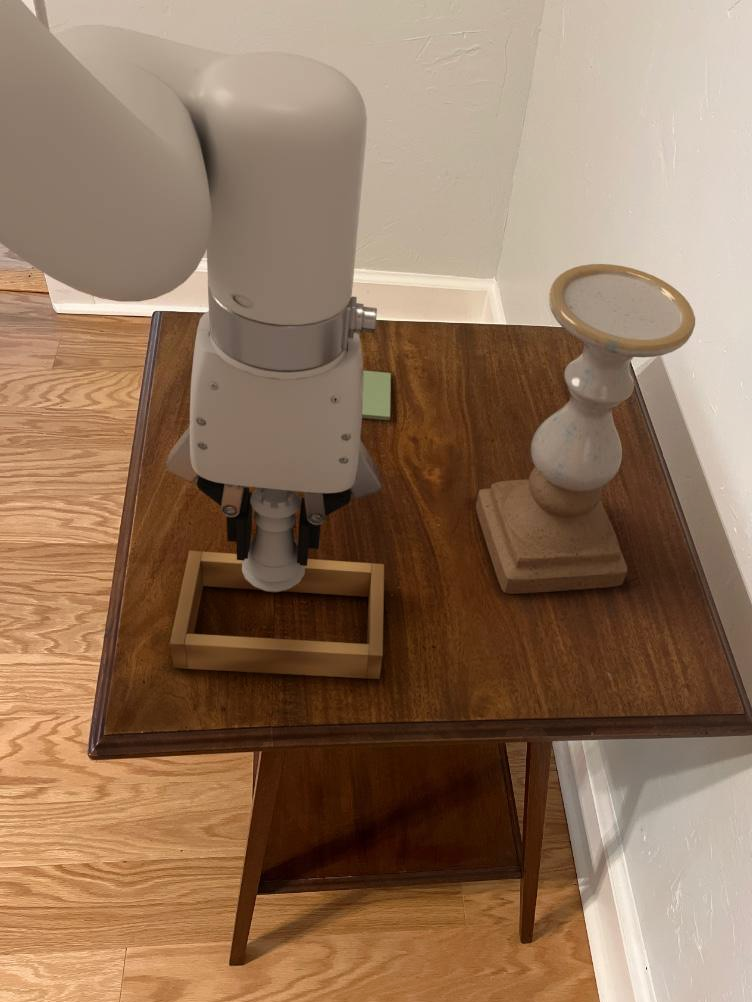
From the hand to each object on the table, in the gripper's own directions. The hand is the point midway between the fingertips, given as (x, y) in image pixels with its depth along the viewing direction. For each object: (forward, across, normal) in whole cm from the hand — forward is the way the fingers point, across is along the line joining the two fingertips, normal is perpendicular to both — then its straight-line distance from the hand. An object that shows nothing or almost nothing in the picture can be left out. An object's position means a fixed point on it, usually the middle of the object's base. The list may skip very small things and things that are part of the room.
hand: (274, 546), depth 63 cm
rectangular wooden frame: (+9, -1, 0) cm, 9 cm away
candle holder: (+9, -23, -11) cm, 27 cm away
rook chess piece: (+3, 0, 0) cm, 3 cm away
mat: (+9, -2, -30) cm, 31 cm away
